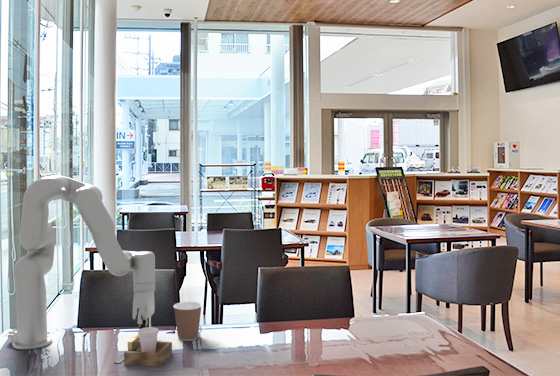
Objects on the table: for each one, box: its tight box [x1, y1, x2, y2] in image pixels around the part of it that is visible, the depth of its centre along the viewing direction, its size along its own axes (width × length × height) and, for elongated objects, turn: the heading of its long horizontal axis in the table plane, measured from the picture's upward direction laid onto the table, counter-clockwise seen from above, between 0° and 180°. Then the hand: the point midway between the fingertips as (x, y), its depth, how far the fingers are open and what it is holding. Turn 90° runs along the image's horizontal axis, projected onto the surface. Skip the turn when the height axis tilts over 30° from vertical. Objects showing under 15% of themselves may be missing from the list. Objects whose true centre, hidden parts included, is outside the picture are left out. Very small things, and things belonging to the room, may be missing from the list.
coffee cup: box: [172, 301, 203, 342], centre depth 196 cm, size 10×10×12 cm
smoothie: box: [137, 316, 159, 352], centre depth 174 cm, size 6×6×14 cm
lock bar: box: [127, 333, 140, 351], centre depth 185 cm, size 2×10×3 cm, turn 173°
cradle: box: [113, 340, 173, 368], centre depth 179 cm, size 15×20×4 cm
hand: (144, 336), depth 194 cm, fingers closed
